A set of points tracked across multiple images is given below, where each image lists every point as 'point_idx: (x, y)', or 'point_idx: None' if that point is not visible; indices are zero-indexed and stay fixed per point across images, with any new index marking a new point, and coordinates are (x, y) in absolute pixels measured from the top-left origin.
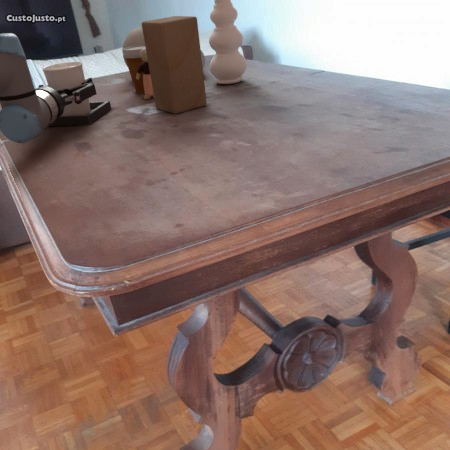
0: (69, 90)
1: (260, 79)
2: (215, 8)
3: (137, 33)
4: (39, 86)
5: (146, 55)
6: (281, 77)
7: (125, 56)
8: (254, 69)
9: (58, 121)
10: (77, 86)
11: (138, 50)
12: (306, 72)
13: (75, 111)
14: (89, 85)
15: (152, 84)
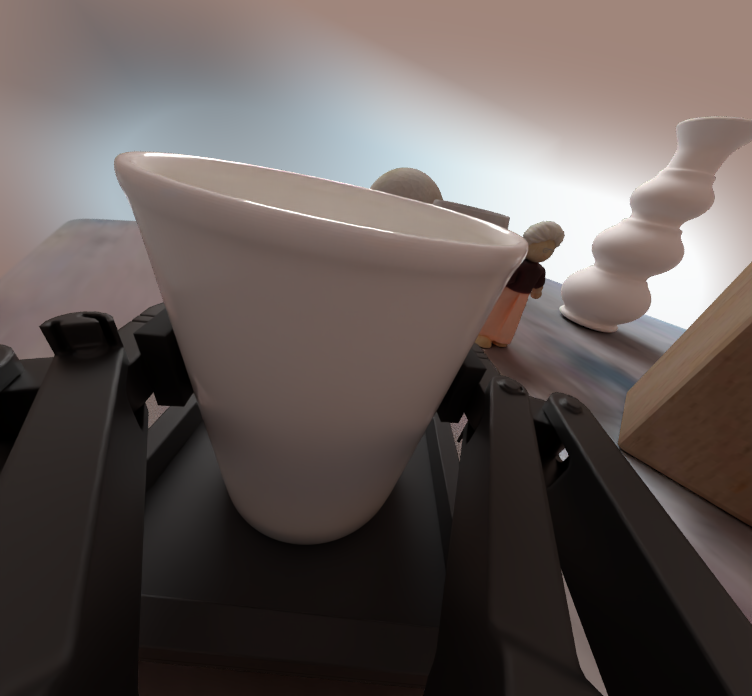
0: (584, 686)
1: (628, 328)
2: (685, 178)
3: (413, 177)
4: (61, 329)
5: (553, 244)
6: (657, 332)
7: None
8: (556, 289)
9: (221, 664)
10: (498, 437)
11: (494, 218)
12: (670, 327)
13: (359, 517)
14: (612, 452)
15: (694, 392)
